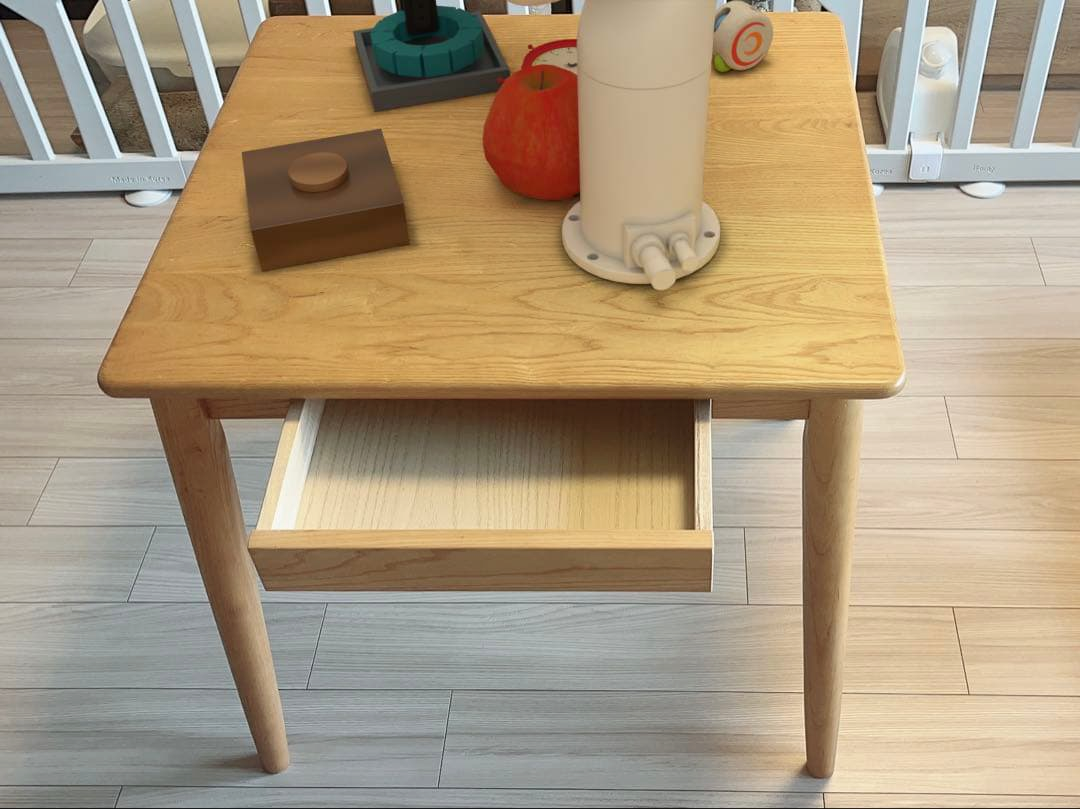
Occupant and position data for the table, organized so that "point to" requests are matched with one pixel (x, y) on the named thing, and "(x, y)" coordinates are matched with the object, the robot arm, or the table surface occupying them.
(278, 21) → the table surface
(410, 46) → the ring
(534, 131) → the apple
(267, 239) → the platform
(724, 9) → the roller toy
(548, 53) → the alarm clock
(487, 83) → the tray
